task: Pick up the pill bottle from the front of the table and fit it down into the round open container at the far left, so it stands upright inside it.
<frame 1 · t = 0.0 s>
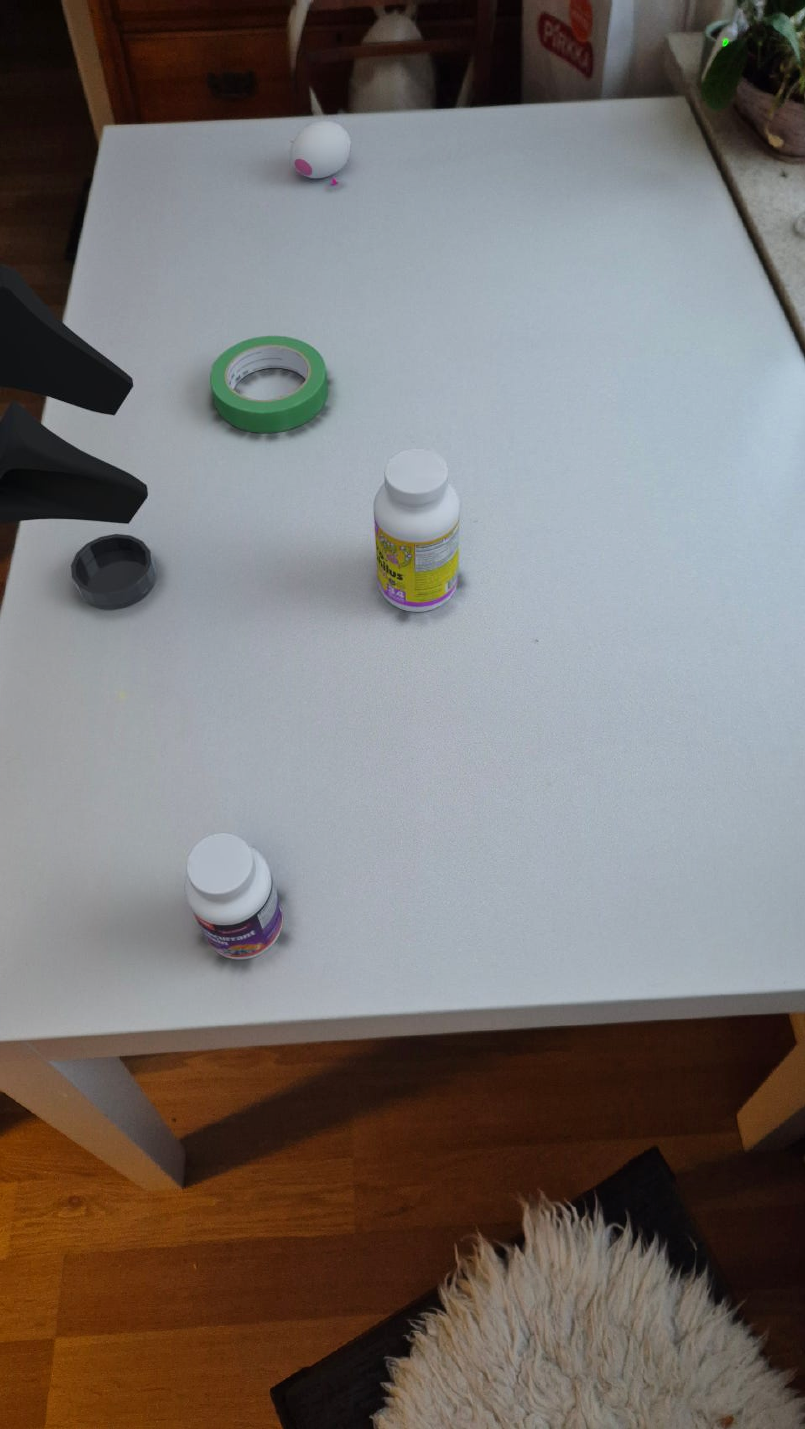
hand: (130, 448, 48), 32 cm above the table, tool tilted 50°, fingers open, 7 cm apart
pill bottle: (245, 924, 68), on the table
round open container: (117, 579, 85), on the table
tape roll: (271, 396, 98), on the table
supplement bottle: (418, 586, 84), on the table
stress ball: (320, 174, 120), on the table
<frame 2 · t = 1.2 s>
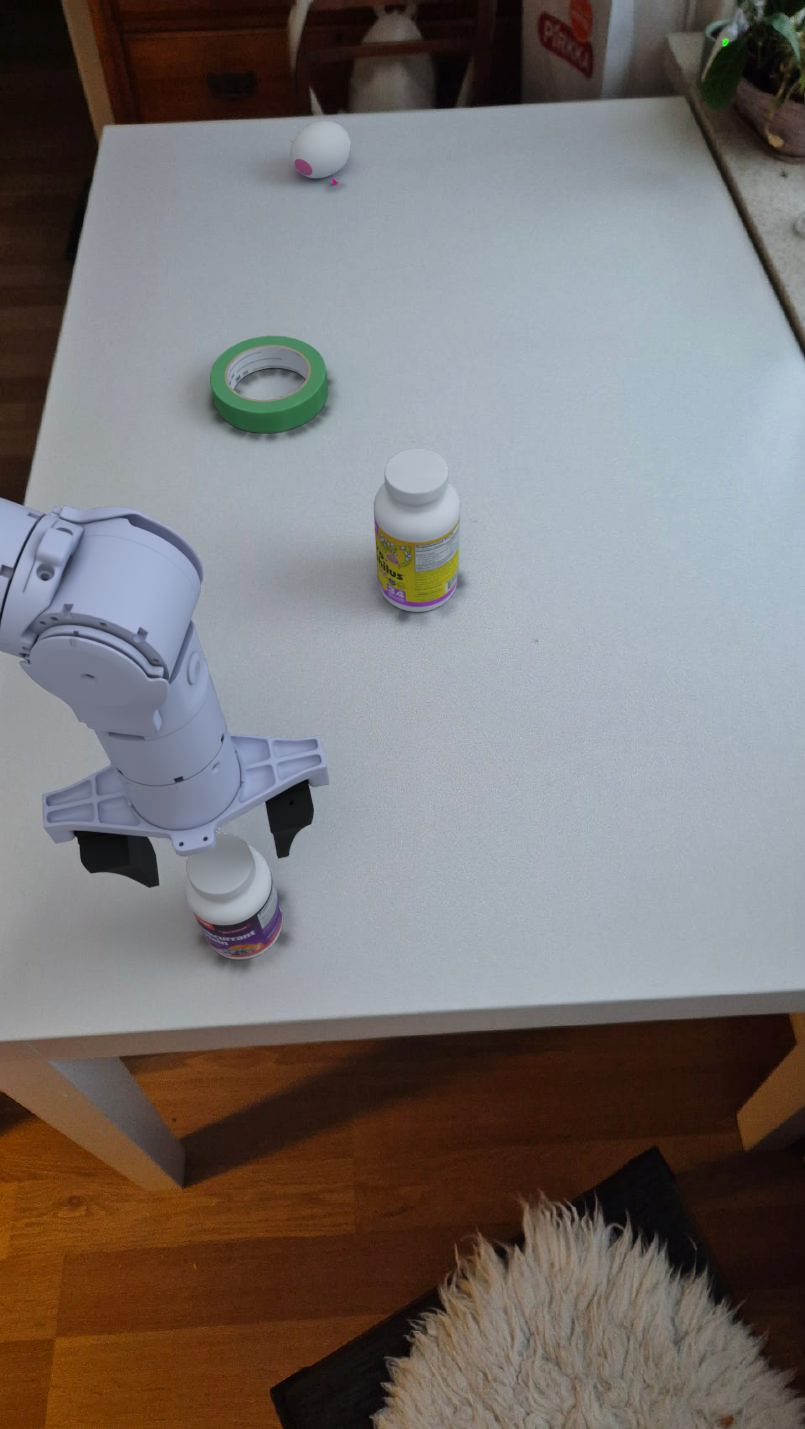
hand: (217, 856, 59), 10 cm above the table, tool pointing down, fingers open, 7 cm apart
nothing on the table moved.
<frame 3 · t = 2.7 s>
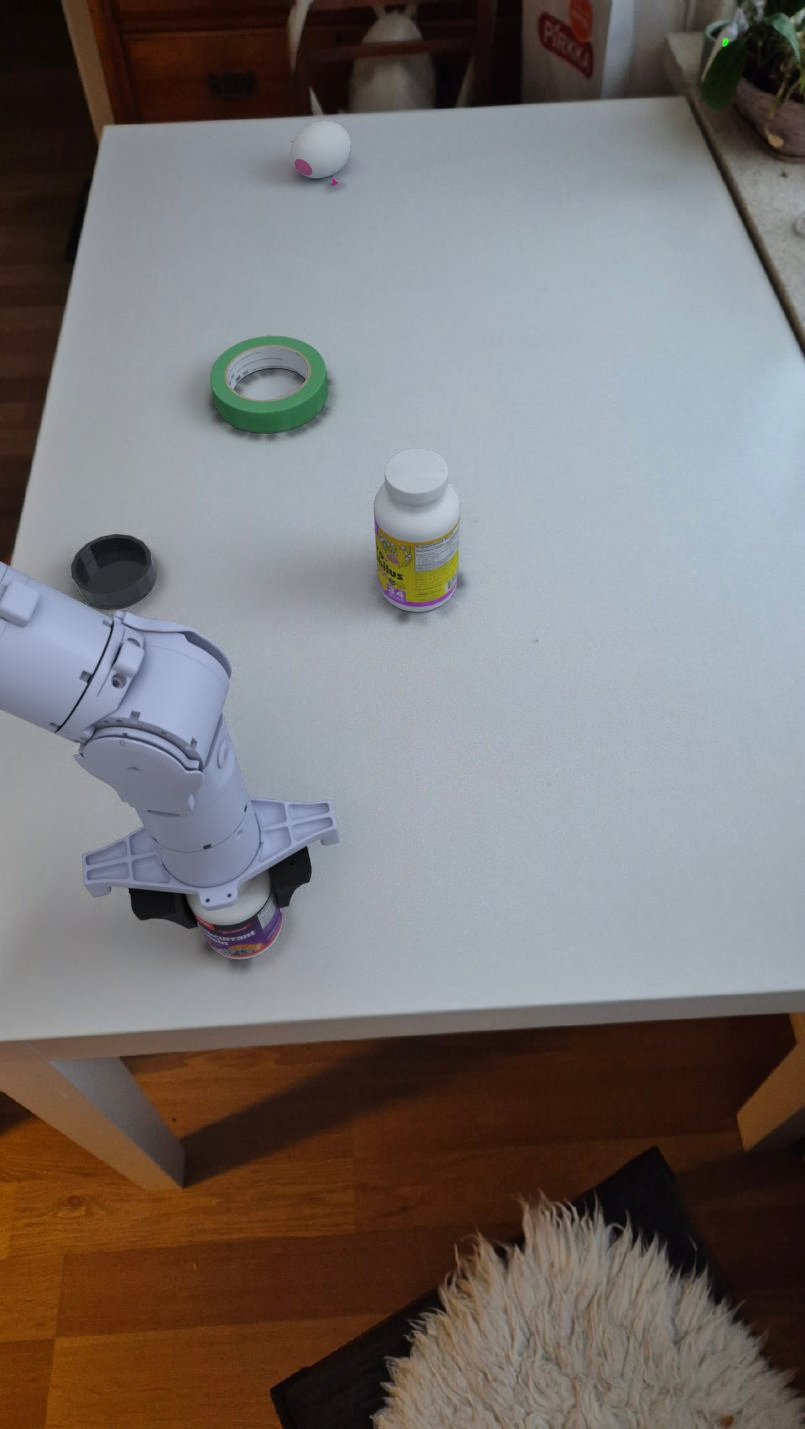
hand: (236, 903, 65), 3 cm above the table, tool pointing down, fingers closed on pill bottle, 5 cm apart
pill bottle: (245, 924, 68), on the table, touching gripper
everything else where it was.
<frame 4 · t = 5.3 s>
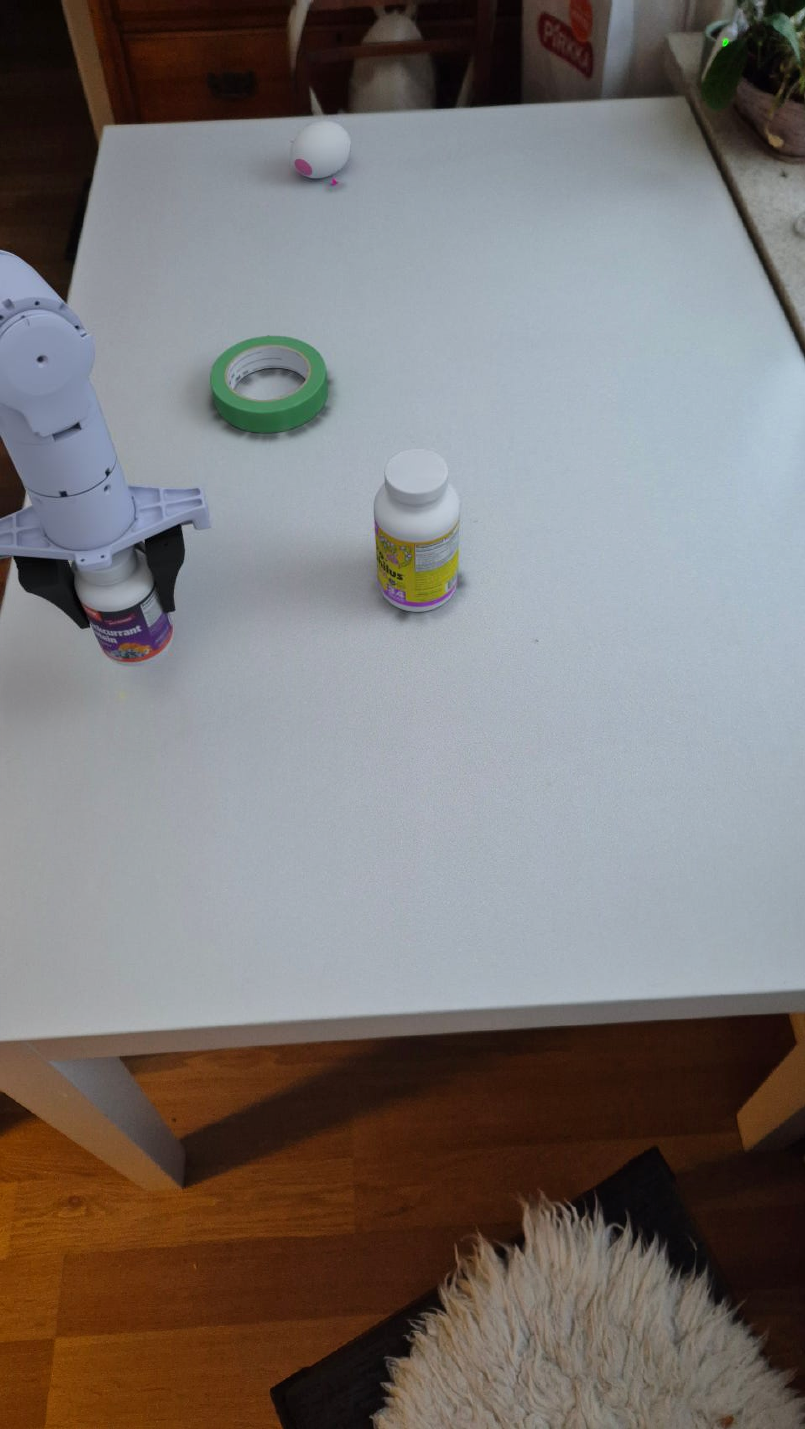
hand: (126, 609, 71), 10 cm above the table, tool pointing down, fingers closed on pill bottle, 5 cm apart
pill bottle: (139, 641, 74), point 6 cm above the table, touching gripper
everything else where it was.
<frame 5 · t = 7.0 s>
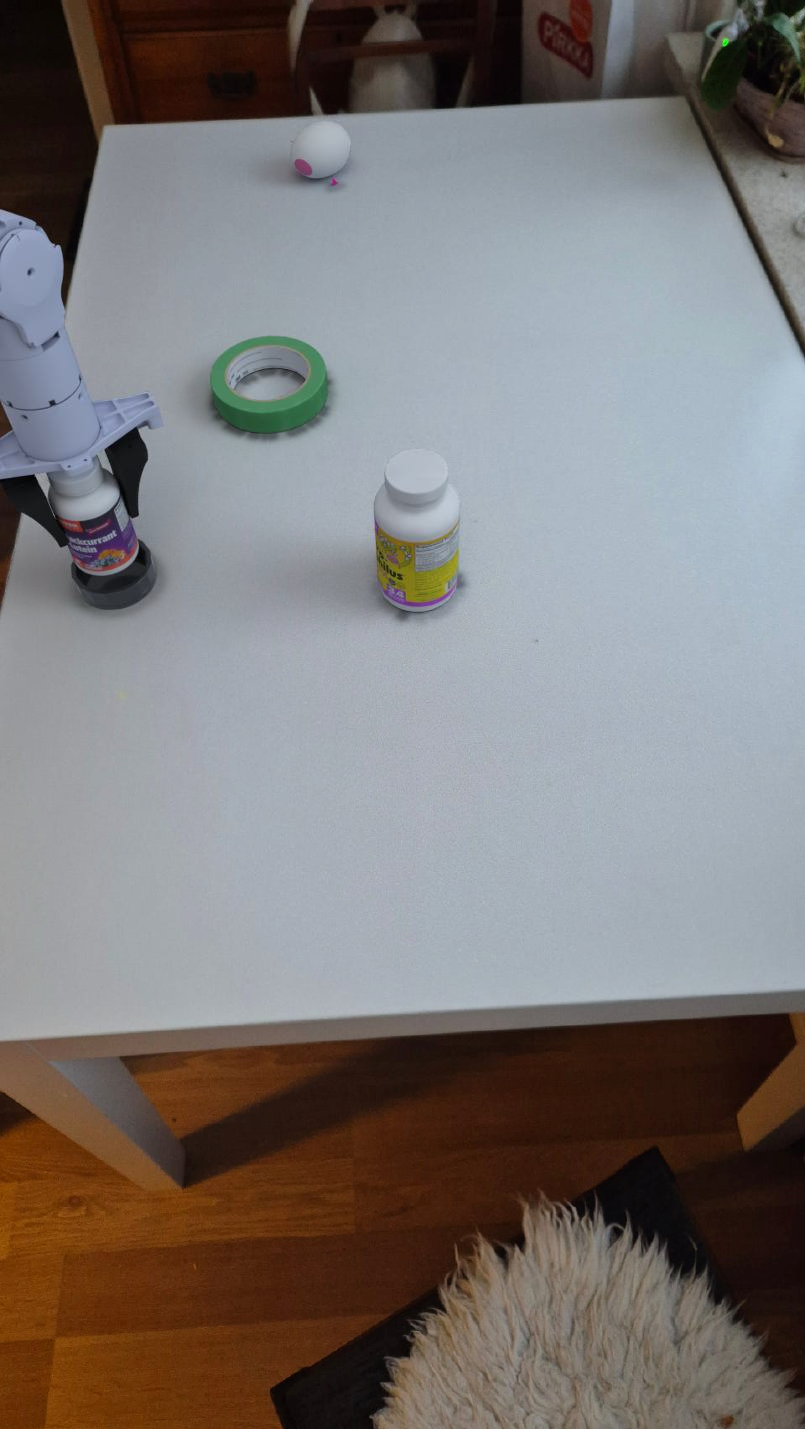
hand: (95, 524, 80), 7 cm above the table, tool pointing down, fingers closed on pill bottle, 5 cm apart
pill bottle: (108, 554, 83), point 3 cm above the table, touching gripper
everything else where it was.
when the fingers open (4 cm above the table, at t = 8.4 s): pill bottle stays where it is, resting on round open container.
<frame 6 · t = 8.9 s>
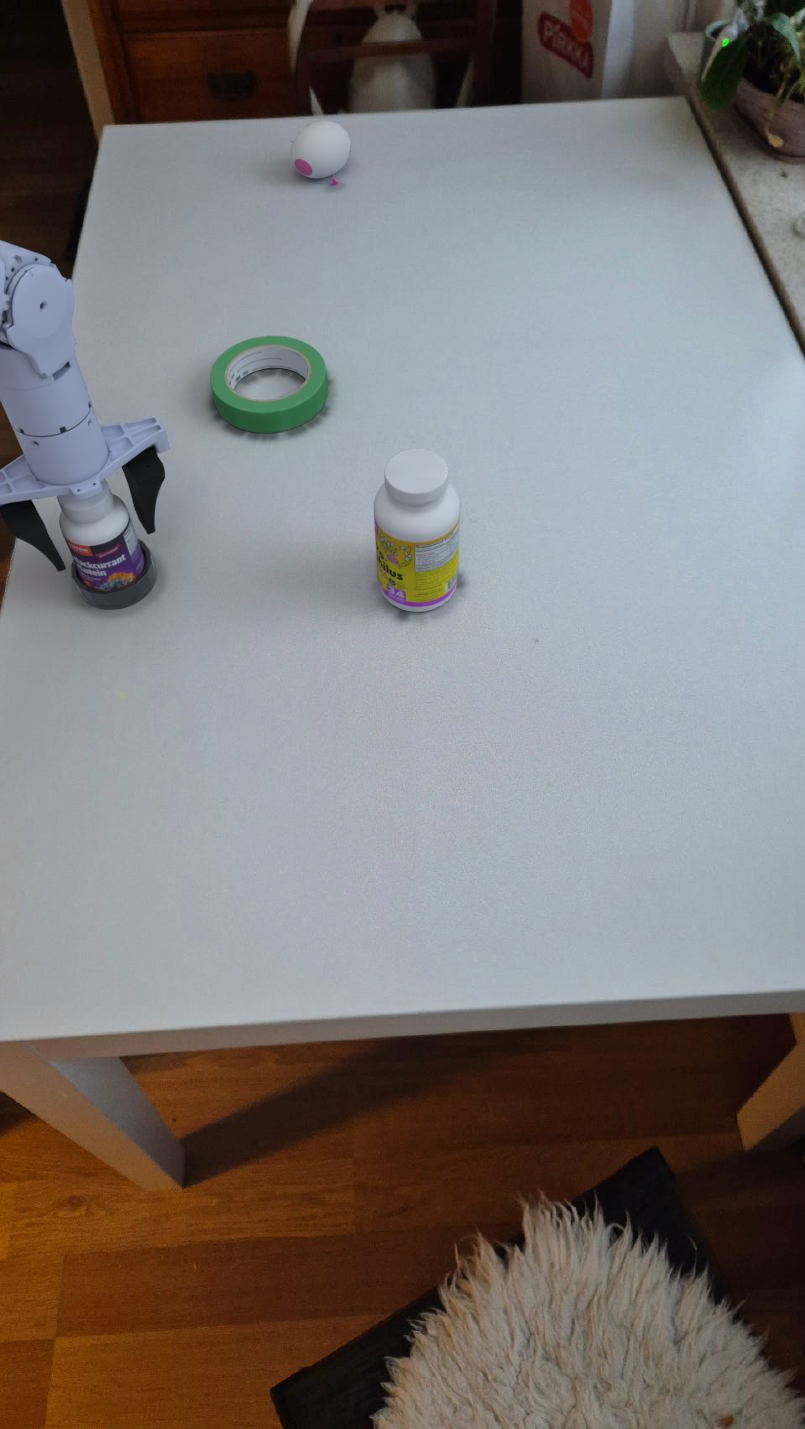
hand: (103, 544, 82), 4 cm above the table, tool pointing down, fingers open, 7 cm apart
pill bottle: (116, 576, 85), resting on round open container
everything else where it was.
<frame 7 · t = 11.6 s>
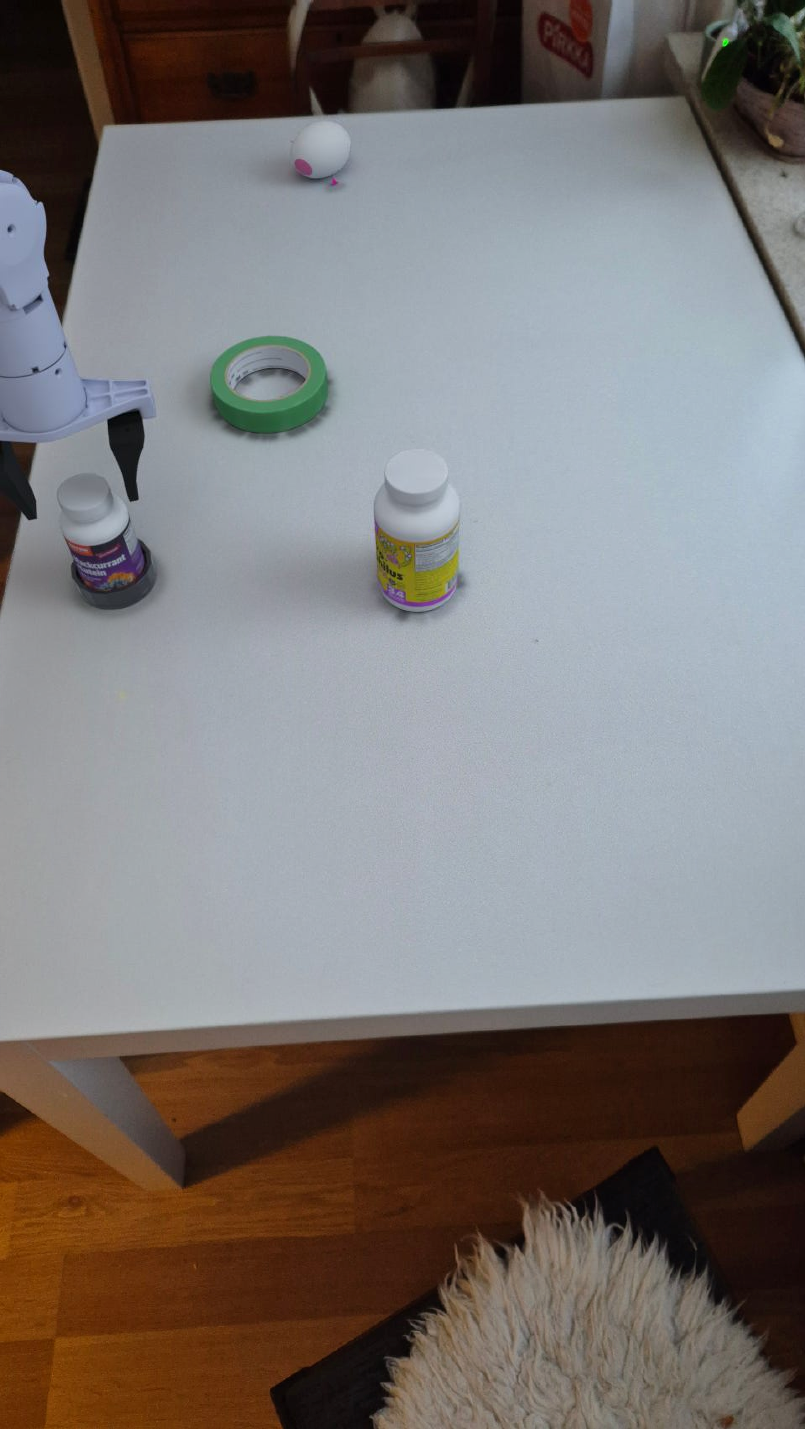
hand: (83, 501, 77), 10 cm above the table, tool pointing down, fingers open, 7 cm apart
nothing on the table moved.
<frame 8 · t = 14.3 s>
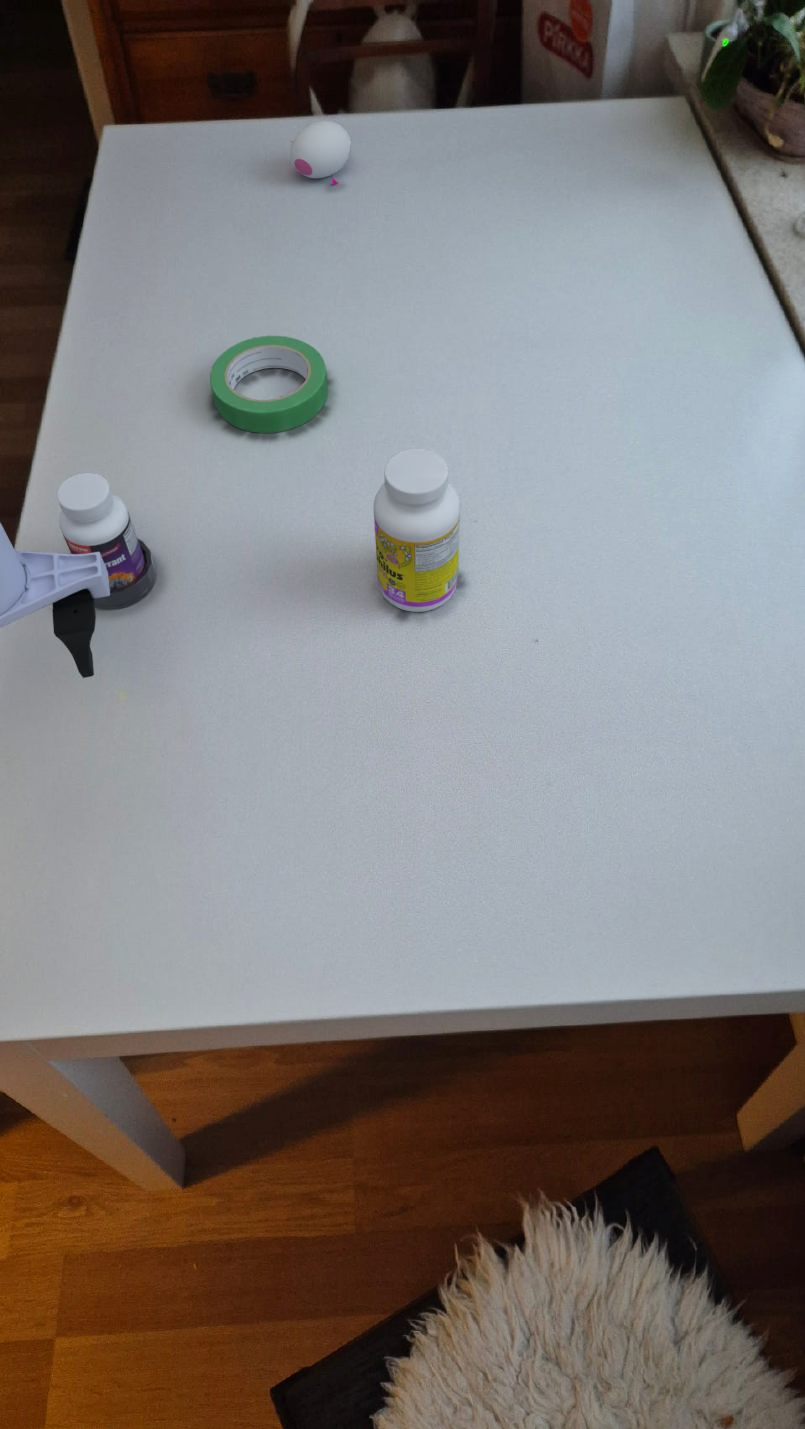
hand: (29, 677, 67), 10 cm above the table, tool pointing down, fingers open, 7 cm apart
nothing on the table moved.
at the end: pill bottle 0.0 cm off-centre in the round open container, point 0.3 cm above the round open container's base; pill bottle tilted 0° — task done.
